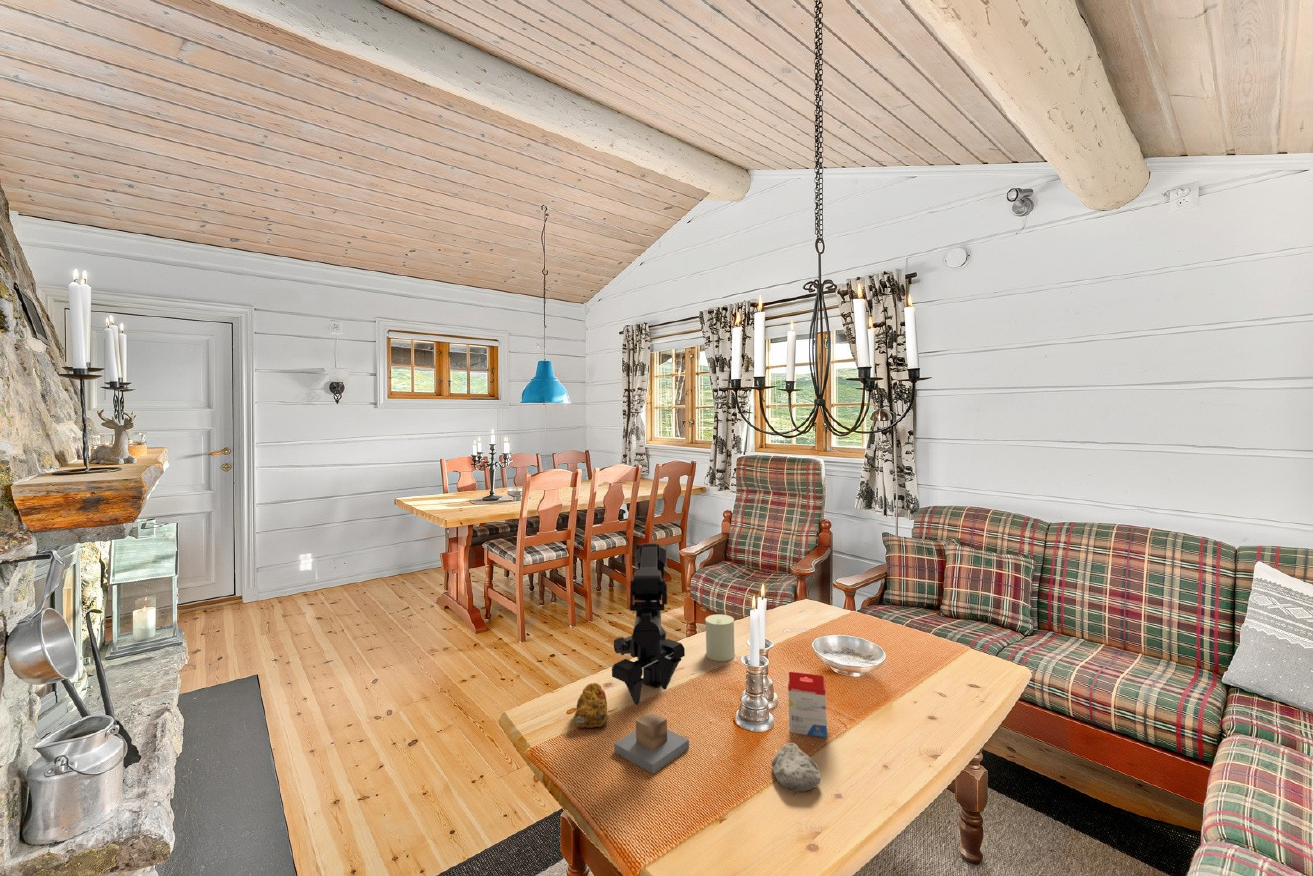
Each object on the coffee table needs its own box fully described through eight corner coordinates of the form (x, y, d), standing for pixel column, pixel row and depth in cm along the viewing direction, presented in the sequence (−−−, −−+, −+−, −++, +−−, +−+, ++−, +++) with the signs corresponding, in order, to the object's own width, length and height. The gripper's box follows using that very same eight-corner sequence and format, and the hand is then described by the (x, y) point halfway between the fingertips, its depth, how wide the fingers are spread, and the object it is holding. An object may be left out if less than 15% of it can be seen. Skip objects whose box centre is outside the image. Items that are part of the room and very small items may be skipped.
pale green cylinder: (704, 660, 170) (703, 622, 170) (707, 648, 179) (706, 612, 179) (734, 662, 169) (733, 623, 168) (735, 649, 178) (734, 613, 178)
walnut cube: (651, 732, 128) (650, 711, 128) (667, 740, 125) (666, 719, 124) (636, 742, 124) (635, 720, 124) (652, 750, 121) (651, 728, 121)
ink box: (827, 727, 132) (826, 667, 131) (826, 739, 127) (825, 676, 127) (790, 722, 135) (789, 663, 134) (788, 733, 130) (787, 671, 130)
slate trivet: (650, 729, 133) (650, 721, 133) (689, 748, 125) (688, 739, 125) (614, 752, 124) (614, 743, 124) (653, 774, 116) (652, 764, 116)
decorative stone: (835, 785, 111) (835, 761, 111) (794, 803, 106) (794, 778, 106) (794, 753, 122) (793, 731, 122) (755, 768, 117) (754, 745, 117)
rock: (612, 733, 139) (608, 720, 132) (580, 742, 138) (574, 729, 131) (605, 689, 147) (601, 674, 139) (574, 697, 146) (568, 682, 138)
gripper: (651, 610, 137) (652, 671, 138) (594, 633, 123) (596, 701, 124) (685, 620, 130) (687, 685, 130) (628, 646, 116) (630, 718, 116)
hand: (650, 696), depth 125 cm, fingers open, 9 cm apart
